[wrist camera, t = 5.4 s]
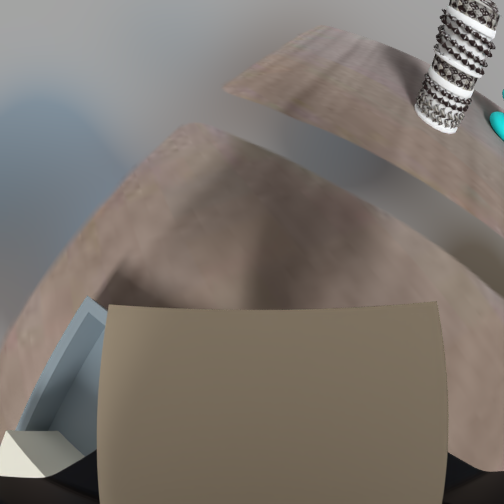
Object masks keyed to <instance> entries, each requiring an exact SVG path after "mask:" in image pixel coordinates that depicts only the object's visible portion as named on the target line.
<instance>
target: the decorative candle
mask: <svg viewBox="0 0 504 504" xmlns="http://www.w3.org/2000/svg"><path fill="white" fill-rule="evenodd" d="M442 11H443V12H444V14H445V15H442V16H440V19H441V21H442V22H443V23H444V24H445V25H441V26H440V27H438V30H439V34H438V35H436V38H437V41H438V42H439V44H436V45H435V46H434V52H435V57H434V60H433V63H432V65H430V68H429V71H428V73H427V74H425V77H426V78H425V79H426V80H425V81H423V82H422V84H423V88H422V89H420V90H419V94H420V95H419V96H418V97H417V103H416V104H415V111H416V113H417V114H418V116H419V117H420V118H421V119H422V120H423V121H424V122H425V123H427V124H428V125H430V126H431V127H433V128H435V129H437V130H439V131H441V132H444V133H448V134H451V133H455V132H456V130H457V127H459V124H461V121H460V120H463V117H464V113H463V112H464V111H467V109H468V106H467V104H470V102H471V101H472V100H471V98H470V97H471V96H472V93H473V91H474V89H473V88H474V86H475V84H476V81H477V79H478V78H481V77H482V75H483V74H484V71H483V69H481V67H482V66H483V67H487V66H488V65H487V63H486V61H485V60H484V59H485V57H486V55H487V56H488V57H492V54H491V53H490V51H488V48H489V47H490V49H495V46H494V44H493V43H492V42H491V40H492V39H494V37H495V34H496V31H495V30H496V27H497V24H498V20H499V17H500V14H499V12H498V8H497V6H496V4H495V3H494V2H492V1H490V0H450V3H449V5H448V6H447V10H442Z"/></svg>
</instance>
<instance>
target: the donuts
mask: <svg viewBox="0 0 504 504" xmlns="http://www.w3.org/2000/svg"><path fill="white" fill-rule="evenodd" d="M502 95H503V98H504V90H503V92H502ZM490 123H491V125H492V127H493V129H494V130H495V132H496V133H497V134H498V135H499V136H500V138H501V139H503V140H504V113H502V112H493V113H492V114H491V115H490Z"/></svg>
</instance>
